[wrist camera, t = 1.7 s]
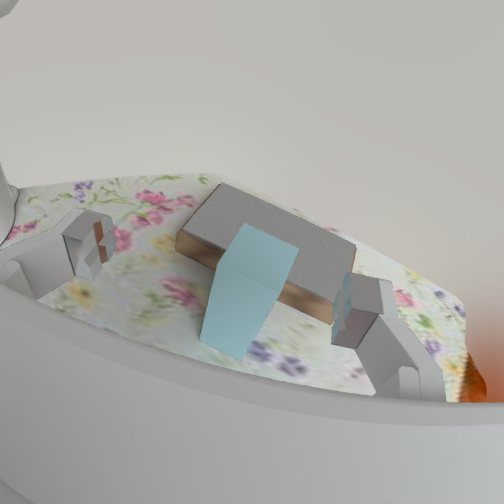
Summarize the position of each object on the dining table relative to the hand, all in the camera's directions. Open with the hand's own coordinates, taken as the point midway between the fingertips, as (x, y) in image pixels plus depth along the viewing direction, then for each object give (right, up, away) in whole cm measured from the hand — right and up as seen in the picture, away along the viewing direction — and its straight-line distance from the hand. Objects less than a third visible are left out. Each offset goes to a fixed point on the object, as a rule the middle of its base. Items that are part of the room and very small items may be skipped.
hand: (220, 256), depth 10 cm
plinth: (+3, 0, +33) cm, 33 cm away
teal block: (-2, -9, +25) cm, 26 cm away
